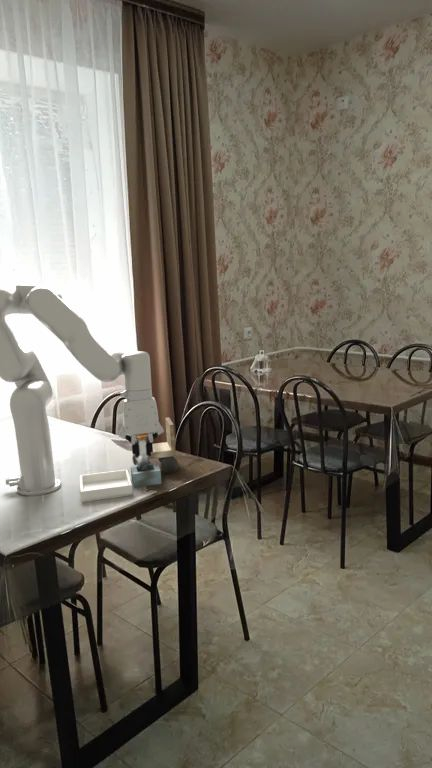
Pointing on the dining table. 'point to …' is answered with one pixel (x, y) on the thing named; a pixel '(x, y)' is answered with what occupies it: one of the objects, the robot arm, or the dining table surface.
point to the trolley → (165, 456)
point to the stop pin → (142, 452)
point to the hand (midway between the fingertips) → (142, 454)
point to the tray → (105, 485)
